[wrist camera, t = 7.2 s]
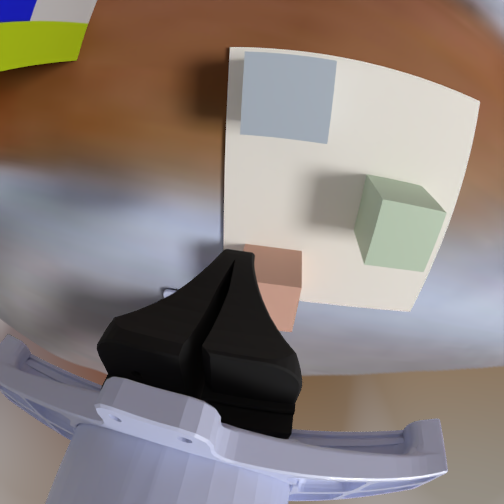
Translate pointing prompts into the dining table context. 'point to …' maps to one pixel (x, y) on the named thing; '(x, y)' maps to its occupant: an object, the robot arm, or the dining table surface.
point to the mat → (345, 176)
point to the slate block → (287, 96)
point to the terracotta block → (278, 282)
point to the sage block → (397, 224)
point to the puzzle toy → (42, 31)
